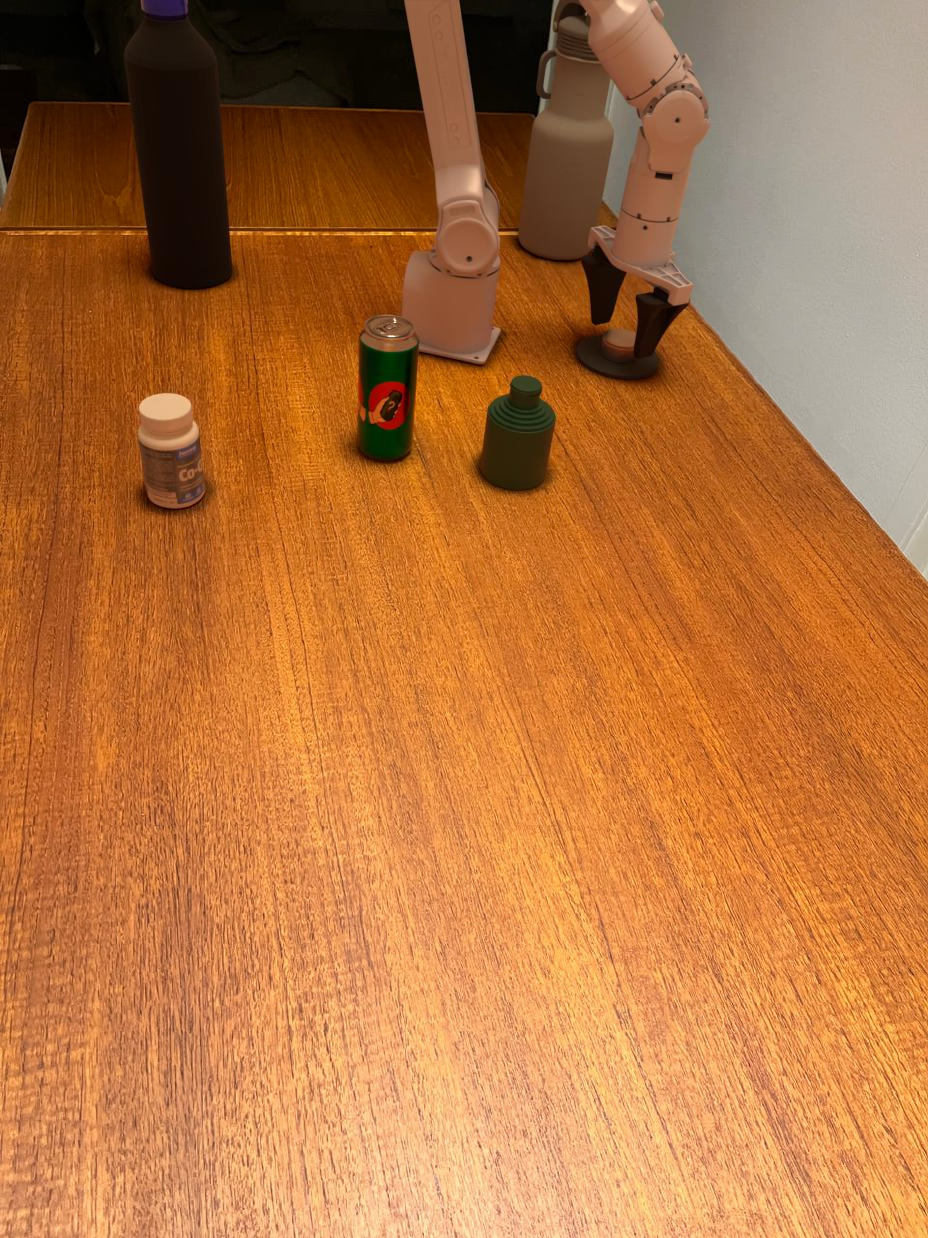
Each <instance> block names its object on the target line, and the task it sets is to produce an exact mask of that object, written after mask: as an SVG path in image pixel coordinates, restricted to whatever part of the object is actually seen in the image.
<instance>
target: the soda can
mask: <svg viewBox="0 0 928 1238" xmlns="http://www.w3.org/2000/svg"><path fill="white" fill-rule="evenodd" d="M419 355H420V351H419V337H418V335H417V334H416V327H415V325H414V324H413V323H412V322H411V321H410V320H408V319H406V318H404V317H401V315H395V314H378V315H374V316H371V317H369V318H367V319H366V320H365V321H364V323H363V329H362V330H361V331H360V333H359V336H358V365H357V366H358V367H357V369H358V370H357V376H358V377H357V412H356V413H357V415H356V416H357V417H356V420H357V421H356V445H357V446H358V448H359V449H360V450H361V451H362V453H363V454H365V455H366V456H367V457H368V458H372V459H374V460H379V461H394V460H399V459H400V458H402V457H404V456H406V454H408V453H409V452H410V451H411V449H412V447H413V443H414V442H413V441H414V427H415V426H414V425H415V413H416V400H417V399H416V398H417V384H418V383H417V382H418V369H419V368H418V367H419Z"/></svg>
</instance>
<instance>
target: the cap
mask: <svg viewBox="0 0 928 1238" xmlns="http://www.w3.org/2000/svg"><path fill="white" fill-rule="evenodd" d="M603 334H604V335H603V337H602V341H601V346H600V353H601V355H602V356H603V357H604V358H605V359H607V360H609V361H611V362H615V363H631V362H633V361H634V360H635V359H636V357H634V343H635V337H636V332H634V331H631V330H629V329H624V328H610V329H609V328H608V329H607V330H605V331H604V332H603Z"/></svg>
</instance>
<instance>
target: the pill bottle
mask: <svg viewBox="0 0 928 1238" xmlns="http://www.w3.org/2000/svg"><path fill="white" fill-rule="evenodd" d="M138 414H139V421H140V425H139V427H138V430H137V440H138V446H139V453H140V458H141V465H142V471H143V477H144V484H145V490H146V495H147V497H148V499H149V500H150V502H152V503H153V504H155V505H157V506H159V507H163V508H166V509H183V508H187V507H190V506H192V505H194V504H196V503H198V502H199V501H200V500H201V499H202V498H203V496H204V495H205V493H206V483H205V475H204V464H203V456H202V445H201V433H200V429H199V426H198V424H197V423H196V422H195V420H194V413H193V405H192V402H191V401H190V399H188V398H187V397H185V396H183V395H180V394H178V393H171V392H163V393H155V394H152V395H150V396H147V397H146V398H144V399H143V400H142V401H140V403H139V405H138Z"/></svg>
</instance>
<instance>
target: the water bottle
mask: <svg viewBox="0 0 928 1238" xmlns="http://www.w3.org/2000/svg"><path fill="white" fill-rule="evenodd" d="M552 20H553V21H552V30H553V33H555V34H557V35H556V42H555V48H554V49H547V50H546V51H544V52H543V53H542V55H541V56H540V59H539V64H538V69H537V70H538V72H537V78H536V79H537V80H536V87H535V90H536V94H537V96H538V97H540V98H541V99H542V100H549V105H548V107H547V108H545V109H543V110H542V111H540V112H539V113H538V114H537V116H536V117H535V118H534V121H533V123H532V128H531V134H530V135H531V137H530V143H529V150H528V157H527V166H526V173H525V180H524V181H525V182H524V186H523V187H524V188H523V194H522V195H523V196H522V202H521V209H520V216H519V217H520V218H519V225H518V233H517V238H518V241H519V243H520V245H521V246H522V247H523V248H524V249H525V250H527V251H528V252H529V253H531V254H533V255H535V256H537V257H541V258H543V259H548V260H554V261H555V260H556V261H572V260H577V259H582V257H583V256H584V255H589V254H590V252H592V250H593V249H592V248H590V247H589V246H588V239H589V234H590V228H592V227H598V223H599V219H600V218H599V217H600V212H601V207H602V202H603V197H604V192H605V186H606V181H607V176H608V171H609V166H610V160H611V155H612V150H613V145H614V140H615V139H614V137H615V131H614V130H615V129H614V127H613V124H612V123H611V121H610V120H609V119H608V118H607V117H606V114H605V113H606V107H607V100H608V96H609V90H610V86H611V85H610V83H611V80H612V79H611V78H610V76H609V75H608V73H607V72H606V70H605V69H604V67H603V66H602V64H601V63H600V61H599V60H598V58H597V57H596V55H595V54H594V52H593V51H592V49H591V48H590V46H589V45H588V35H589V30H590V24H591V17H590V16H589V15H588V13H587V12H586V10H585V9H584V8H583V6H582V5H581V3H580V2H579V0H558V3H557V5H556V7H555V11H554V15H553V19H552ZM552 58H555V62H554V63H555V64H554V71H553V78H552V83H551V84H552V85H551V90H550V91H551V92H546V91H545V89H544V83H545V75H546V68H547V64H548V63H549V61H550V60H551V59H552Z"/></svg>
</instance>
